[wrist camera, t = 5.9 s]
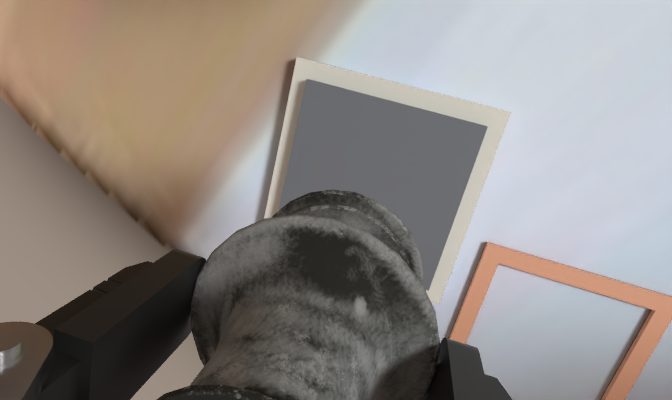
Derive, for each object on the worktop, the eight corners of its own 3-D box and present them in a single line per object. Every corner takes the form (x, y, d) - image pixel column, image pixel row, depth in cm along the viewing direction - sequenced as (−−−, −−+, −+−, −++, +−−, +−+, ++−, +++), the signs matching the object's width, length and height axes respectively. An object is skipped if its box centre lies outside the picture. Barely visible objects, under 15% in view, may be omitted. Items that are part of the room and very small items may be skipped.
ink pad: (507, 111, 22) (514, 112, 21) (438, 297, 26) (439, 310, 24) (300, 57, 23) (293, 55, 22) (262, 242, 27) (254, 250, 26)
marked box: (679, 298, 23) (682, 301, 23) (595, 442, 26) (597, 446, 26) (486, 241, 24) (487, 243, 24) (430, 385, 27) (430, 388, 27)
